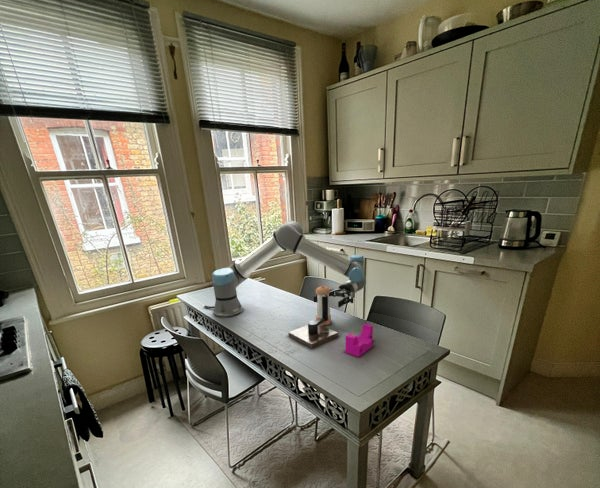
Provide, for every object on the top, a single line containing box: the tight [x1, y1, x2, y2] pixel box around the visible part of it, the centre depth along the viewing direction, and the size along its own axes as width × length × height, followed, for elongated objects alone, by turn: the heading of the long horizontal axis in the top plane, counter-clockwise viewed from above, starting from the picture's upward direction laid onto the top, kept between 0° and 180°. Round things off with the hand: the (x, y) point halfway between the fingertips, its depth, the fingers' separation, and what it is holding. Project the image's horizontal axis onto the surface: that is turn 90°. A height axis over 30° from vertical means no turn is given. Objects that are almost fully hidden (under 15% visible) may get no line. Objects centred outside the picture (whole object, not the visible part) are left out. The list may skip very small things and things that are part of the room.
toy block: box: [344, 322, 374, 357], centre depth 132 cm, size 15×6×8 cm, turn 138°
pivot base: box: [288, 324, 339, 349], centre depth 144 cm, size 16×16×2 cm
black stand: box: [307, 295, 328, 334], centre depth 143 cm, size 13×4×15 cm, turn 138°
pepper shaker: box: [315, 284, 332, 326], centre depth 154 cm, size 7×7×19 cm
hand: (326, 302), depth 150 cm, fingers open, 13 cm apart
